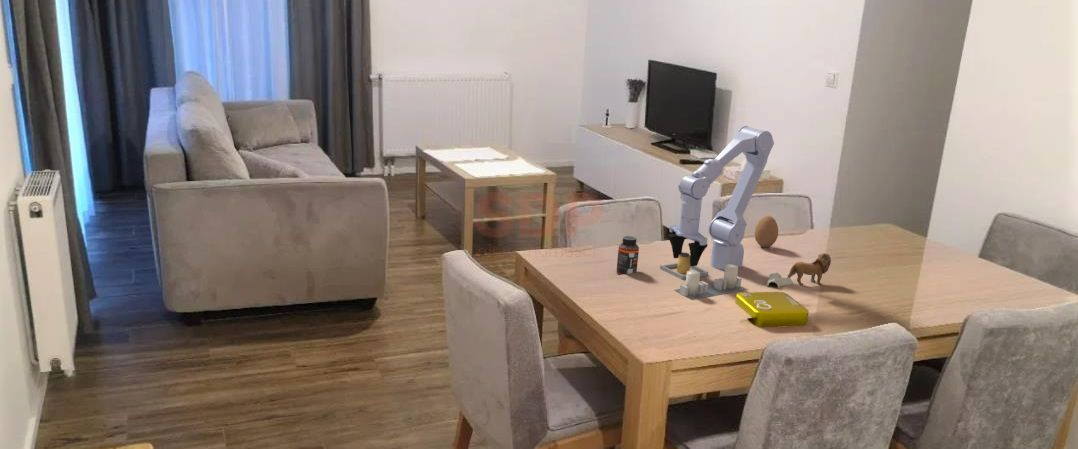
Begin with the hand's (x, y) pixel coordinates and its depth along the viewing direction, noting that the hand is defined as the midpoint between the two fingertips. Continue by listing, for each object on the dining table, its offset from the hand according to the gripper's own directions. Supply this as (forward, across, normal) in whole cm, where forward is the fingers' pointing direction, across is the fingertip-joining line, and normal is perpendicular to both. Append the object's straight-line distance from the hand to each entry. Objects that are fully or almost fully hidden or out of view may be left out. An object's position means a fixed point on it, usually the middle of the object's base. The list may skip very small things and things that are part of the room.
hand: (685, 261), depth 252 cm
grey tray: (+5, 0, 0) cm, 5 cm away
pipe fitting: (+5, +19, +20) cm, 28 cm away
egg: (+5, -13, +46) cm, 48 cm away
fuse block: (+5, +15, -3) cm, 16 cm away
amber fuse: (+4, 0, 0) cm, 4 cm away
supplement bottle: (+5, -8, -15) cm, 18 cm away
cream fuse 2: (+3, +15, +4) cm, 16 cm away
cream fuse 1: (+3, +15, -10) cm, 18 cm away
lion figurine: (+5, +18, +32) cm, 37 cm away
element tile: (+5, +33, +2) cm, 34 cm away
